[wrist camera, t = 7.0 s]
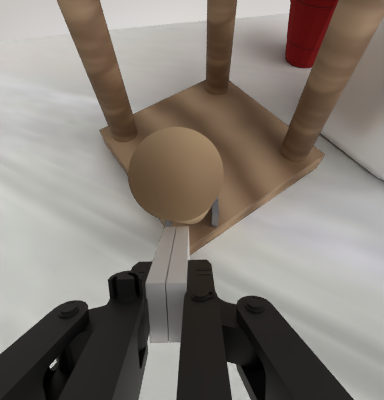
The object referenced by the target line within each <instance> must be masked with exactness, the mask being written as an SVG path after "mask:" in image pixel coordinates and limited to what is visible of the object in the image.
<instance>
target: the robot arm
mask: <svg viewBox="0 0 384 400" xmlns="http://www.w3.org/2000/svg"><path fill="white" fill-rule="evenodd" d="M108 284H109V293H110V300H109V302H108V304H107V305H105V306H102V307H98V308H93V309H89V310H88V305H87V304H86V302H83V301H76V300H74V301H69V302H66V303H63V304H61V305H59V306H58V307H56V308H55V309H53V310H52V311H51V312H50V313H48V314H47V315H46V316H45V317H44V318H43V319H41V320H40V321H39V322H38V323H37V324H35V325H34V326H33V327H32V328H31V329H30V330H28V331H27V332H26V333H25V334H24V335H22V336H21V337H20V338H19V339H18V340H17V341H15V342H14V343H13V344H12V345H11V346H10V347H8V348H7V349H6V350H5V351H4V352H2V353H1V354H0V400H138V399H139V394H140V389H141V384H142V379H143V375H144V370H145V365H146V360H147V355H148V345H147V341H148V336H150V343H162V342H168V341H169V342H181V344H180V358H179V372H178V386H177V400H232V396H231V389H230V382H229V375H228V368H227V362H231V363H234V364H236V367H237V370H238V373H239V375H240V377H241V379H242V381H243V383H244V386H245V388H246V390H247V392H248V394H249V396H250V399H251V400H354V399H353V398H352V397H351V396H350V395H349V393H348V392H347V391H346V390H345V389H344V388H343V386H342V385H341V384H340V383H339V382H338V381H337V379H336V378H335V377H334V376H333V375H332V374H331V372H330V371H329V370H328V369H327V368H326V367H325V365H324V364H323V363H322V362H321V361H320V360H319V358H318V357H317V356H316V355H315V354H314V353H313V351H312V350H311V349H310V348H309V347H308V346H307V345H306V343H305V342H304V341H303V340H302V339H301V338H300V336H299V335H298V334H297V333H296V332H295V331H294V329H293V328H292V327H291V326H290V325H289V324H288V322H287V321H286V320H285V319H284V318H283V317H282V315H281V314H280V313H279V312H278V311H277V310H276V308H275V307H274V306H273V305H272V304H271V303H270V302H269V301H268V300H266V299H264V298H262V297H258V296H246V297H243V298H241V299H240V300H238V302H237V305H236V304H231V303H227V302H225V301H223V300H221V299H220V298H218V297H217V294H216V292H215V287H214V280H213V273H212V266H211V264H210V263H209V262H208V261H207V260H190V251H189V226H182V227H177V228H176V227H164V229H163V232H162V235H161V238H160V241H159V244H158V247H157V250H156V253H155V256H154V259H153V262H138V263H137V264H136V265H134V266H133V267H132V269H131V271H123V272H119V273H116V274H115V275H113V276H111V277H110V278H109V279H108ZM55 359H56V361H57V363H56V364H55V365H54V366H53V367H52V368H51V369H50V368H49V366H50V365H51V363H52V362H53V361H54V360H55Z"/></svg>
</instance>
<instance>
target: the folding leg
mask: <svg viewBox="0 0 384 400" xmlns="http://www.w3.org/2000/svg"><path fill="white" fill-rule="evenodd" d="M223 173H224V172H223V164H222V160H221V157H220V154H219V153H218V151H217V149H216V147H215V146H214V145H213V143H212V142H211V141H210V140H209V139H208V138H206V137H205V136H204V135H202V134H201V133H199V132H197V131H195V130H192V129H189V128H184V127H169V128H164V129H161V130H158V131H156V132H154V133H152V134H150V135H149V136H147V137H146V138H145V139H144V140H143V141H142V142H141V143H140V144H139V145H138V146H137V148H136V149H135V151H134V153H133V155H132V157H131V160H130V163H129V169H128V181H129V186H130V189H131V192H132V194H133V196H134V198H135V199H136V201H137V202H138V204H139V205H140V206H141V207H142V208H143V209H144V210H145V211H147V212H148V213H150V214H151V215H153V216H155V217H157V218H160V219H163V220H169V221H174V222H180V223H185V224H196V223H198V222H200V221H201V220H202V219H203V218H204V217H205V216H206V214H207V212H208V211H209V209H210V208H211V206H212V204H213V203H214V201H215V200H216V198H217V196H218V194H219V192H220V190H221V187H222V183H223Z"/></svg>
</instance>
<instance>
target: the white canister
mask: <svg viewBox="0 0 384 400" xmlns="http://www.w3.org/2000/svg"><path fill="white" fill-rule="evenodd" d="M320 133H321V134H322V135H323V136H325V137H326V138H327V139H328V140H330V141H331V142H332V143H333V144H335V145H336V146H337V147H339V148H340V149H341V150H342V151H344V152H345V153H346V154H348V155H349V156H350V157H351V158H353V159H354V160H355V161H356V162H358V163H359V164H360V165H362V166H363V167H364V168H365V169H367V170H368V171H369V172H371V173H372V174H373V175H374V176H376V177H377V178H379V179H381V180H383V181H384V17H383V19H382V21H381V23H380V24H379V26H378V28H377V30H376V32H375V34H374V35H373V37H372V39H371V41H370V43H369V45H368V46H367V48H366V50H365V52H364V54H363V55H362V57H361V59H360V61H359V63H358V65H357V66H356V68H355V70H354V72H353V74H352V76H351V77H350V79H349V81H348V83H347V85H346V87H345V88H344V90H343V92H342V94H341V96H340V98H339V99H338V101H337V103H336V105H335V107H334V108H333V110H332V112H331V114H330V116H329V118H328V119H327V121H326V123H325V125H324V127H323V129H322V130H321V132H320Z"/></svg>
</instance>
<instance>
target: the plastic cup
mask: <svg viewBox="0 0 384 400" xmlns="http://www.w3.org/2000/svg"><path fill="white" fill-rule="evenodd" d="M338 1H339V0H290V2H291V5H290V13H289V22H288V31H287V44H286V52H285V55H286V57H285V58H286V60H287V62H288V63H290V64H291V65H293V66H296V67H301V68H308V67H313V64H314V62H315V59H316V57H317V54H318V52H319V49H320V47H321V44H322V41H323V39H324V36H325V34H326V31H327V29H328V26H329V24H330V21H331V19H332V16H333V13H334V11H335V8H336V6H337V3H338Z"/></svg>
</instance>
